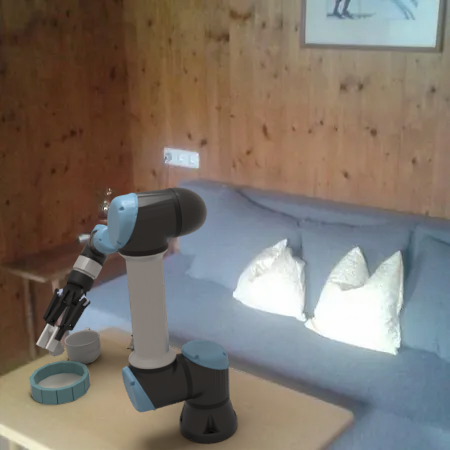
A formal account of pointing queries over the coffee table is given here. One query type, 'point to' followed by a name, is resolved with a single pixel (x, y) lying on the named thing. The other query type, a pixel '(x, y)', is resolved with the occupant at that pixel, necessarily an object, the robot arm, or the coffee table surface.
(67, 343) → the teacup
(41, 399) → the dish
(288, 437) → the coffee table surface
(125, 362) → the coffee table surface
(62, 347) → the rook chess piece
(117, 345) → the coffee table surface
